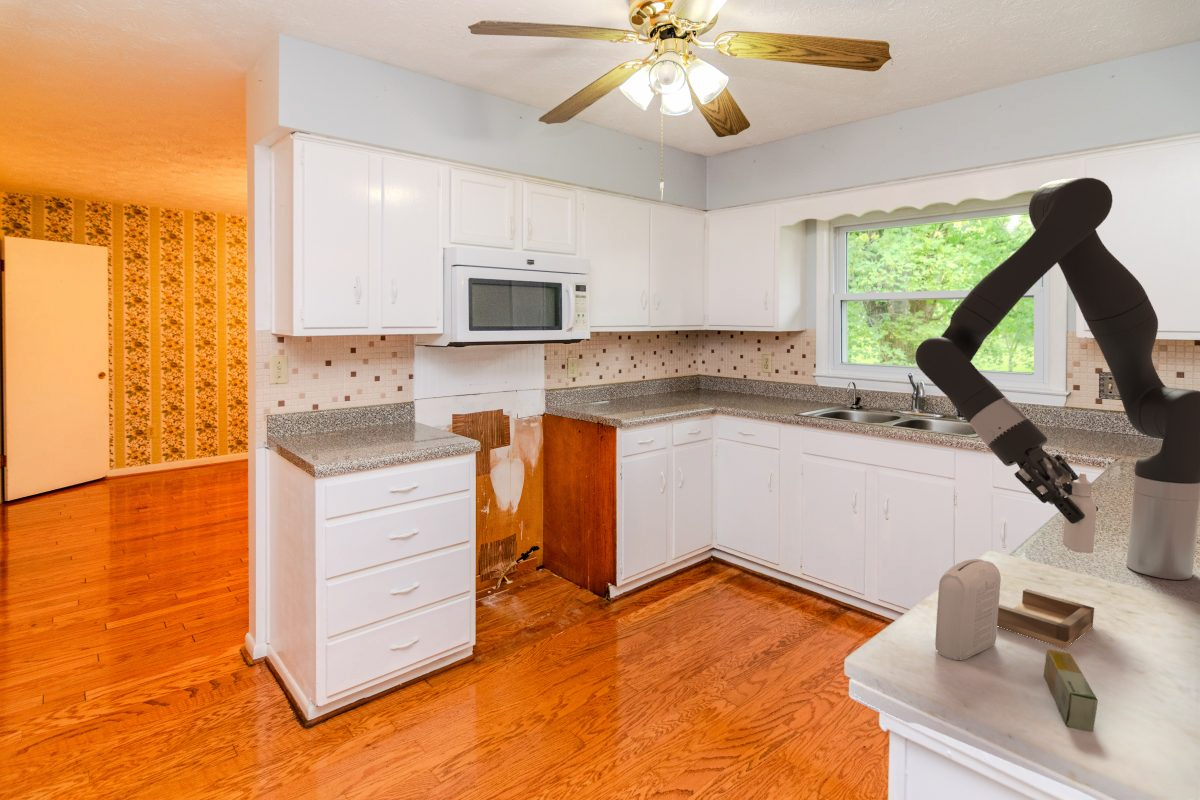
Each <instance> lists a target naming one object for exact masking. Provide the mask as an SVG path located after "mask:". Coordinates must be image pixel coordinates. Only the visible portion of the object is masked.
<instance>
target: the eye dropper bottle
mask: <svg viewBox="0 0 1200 800" xmlns="http://www.w3.org/2000/svg"><path fill="white" fill-rule="evenodd" d="M1078 477H1079V478H1078V479H1077V480H1074V481H1073V486H1072V495H1069V496H1068V497H1069V498H1070V499H1071V500H1072V501H1073V502H1074V504H1075V505H1076V506H1077V507H1078V508H1079V509H1080V510H1081V511H1082V512H1083V513H1084V514H1085V517H1084V518H1083V519H1082V520H1080V521H1078V522H1076V523H1074V524H1072V523H1070V522H1069V521H1068V520H1067V519H1066V517H1065V516H1064V515H1063V528H1062V529H1063V530H1062V545H1063V546H1064V547H1065V548H1067V549H1068V550H1071V551H1073V552H1076V553H1081V554H1082V553H1083V554H1093V552H1094V549H1095V548H1094V547H1095V535H1096V522H1097V520H1096V519H1097V512H1096V506H1097V503H1096V502H1095V500H1094V499H1093V498H1092V497H1091V496H1092V490H1093V489H1092V488H1093V483H1092V482H1091V481H1089V480H1088V479H1087V473H1085V472H1080V473H1079V476H1078Z"/></svg>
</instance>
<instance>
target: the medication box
mask: <svg viewBox="0 0 1200 800" xmlns="http://www.w3.org/2000/svg"><path fill="white" fill-rule="evenodd" d="M1045 654H1046V655H1045V662H1044V670H1043V679H1044V681H1045V683H1046V686H1047V688H1048V690H1049V692H1050V694H1051V696H1052V699H1053V701H1054V703H1055V706H1056V707H1057V710H1058V713H1059V714H1060V716H1061V718H1062V720H1063V723H1064V724H1065V726H1066V727H1067V728H1071V729H1076V730H1079V731H1086V732H1094V728H1095V723H1096V714H1097V711H1098V702H1099V699H1098V698H1097V696H1096V694H1095V693H1094V691H1093V689H1092V687H1091V686H1090V684H1089V683H1088V681H1087V680H1086V679H1087V678H1086V677H1085V676H1084V674H1083V672H1082V671H1081V669H1080V667H1079V665H1078V664H1077V662H1076V660H1075V659H1074V657H1073V656H1072V654H1071V653H1070V652H1066V651H1061V650H1055V649H1052V648H1051V649H1049V648H1047V649H1046V653H1045Z"/></svg>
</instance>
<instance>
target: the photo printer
mask: <svg viewBox="0 0 1200 800" xmlns="http://www.w3.org/2000/svg"><path fill="white" fill-rule="evenodd" d="M1001 580H1002V579H1001V572H1000V571H999V569H998V566H996V564H994V562H990V561H986V560H983V559H979V558H972V559H968V560H963V561H961V562H958V563H956V564H955V565H953V566H952V567H950V568H949V569H948V570H947V571H945V572H944V573H943V575H942V576H941V577H940V579H939V583H938V596H937V608H936V609H937V610H936V611H937V612H936V622H935V623H936V625H935V626H936V627H935V642H934V645H935V650H936V651H937V652H938V653H939V654H940V655H941V656H943V657H945V658H947V659H950V660H955V661H959V660H960V661H961V660H965V659H968V658H971V657H972V656H974V655H977V654H979V653H981V652H983V651H986V650H987V649H990V648H991V647H992V646H994V645H995V644H996V641H997V637H998V636H997V633H998V627H997V621H998V608H999V605H1000V593H1001V592H1000V591H1001Z"/></svg>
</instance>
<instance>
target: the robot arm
mask: <svg viewBox="0 0 1200 800" xmlns="http://www.w3.org/2000/svg"><path fill="white" fill-rule="evenodd" d="M1112 193H1113V192H1112V191H1111V189H1110V187H1109V186H1108V185H1107V183H1106V182H1104V181H1103V180H1101V179H1097V178H1095V177H1087V176H1086V177H1084V176H1083V177H1073V178H1070V177H1069V178H1064V179H1058V180H1057V179H1056V180H1052V181H1049V182H1047V183H1044V184H1042V185H1041V186H1039V188H1037V189H1036V191H1034V193H1033V195H1032V196H1031V198H1030V202H1029V207H1028V217H1029V219H1030V223H1031V224H1032V226H1033V228H1034V230H1035V231H1034V232H1033V233H1032V234H1031V235H1030V237H1029V238H1028V239H1027V240H1026V241H1025V242H1024V243H1023V244H1022V245H1021V246H1020V247H1019V248H1018V249H1017V250H1016V251H1014V253H1012V254H1011V255H1010V256H1009V257H1007V258H1006V259H1005V260H1003V262H1001V263H1000V264H999V265H997V266H996V267H995V268H994V269H992V270H991V271H990V272H989V273H987V274H986V275H985V276H984V277H982V279H981V280H979V282H978V283H977V284H976V285H975V286H973V288H972V289H971V290H970V291H969V292H968V294H967V295H966V296H965V298H963V300H962V301H961V302H960V303H959V305H958V306H957V307H956V309H954V311H953V312H952V314H951V316H950V323H949V325H948V326H947V328H946V329H945V330H944V331H943V332H942V333H943V334H941V336H932V337H928V338H926V339H925V340H923V341H922V342H921V343H920V344H919V345H918V347H917V348H916V351H915V362H916V365H917V367H918V368H919V369H920V371H921V372H922V373H923V374H924V376H926V378H928V379H929V380H930V381H931V382H932V383H933V384H934V385H935V387H937V388H938V389H939V390H940V391H941V392H942V393H943V394H944V395H945V396H946V397H947V398H948V399H949V401H950V402H951V403H952V405H953V406H954V407H955V408H956V410H957V411H958V413H960V415H961V416H962V417H963V418H964V419H965V420H966V421H967V422H968V423H969V424H970V426H971V427H972V428H973V430H974V432H975V434H977V436H978V437H979V438H980V439H981V440H982V441H983V442H984V444H986V446H987V447H988V448H989V449H990V450H991V452H992V453H993V454H994V455H995V456H996V457H997V458H998V460H999V461H1001V463H1002V464H1003V465H1004V466H1006V467H1011V466H1014V465H1017V466H1018V468H1019V470H1017V471H1016V472H1014V477H1016V479H1017V480H1018V481H1019V482H1021V483H1022V485H1024V486H1025V487H1026V488H1027V489H1028V490H1029V491H1030V492H1031V493H1032V494H1033V495H1034V496H1035V497H1036V498H1037V499H1038V500H1039V501H1040V502H1041V503H1043V504H1046V503H1049V504H1050V505H1052V506H1053V505H1054V507H1055V508H1056V509H1057V510H1058V511H1059V512H1060V513H1061V515H1062V516H1063V517H1064V516H1065V517H1066V519H1067V520H1068V521H1069V522H1070V523H1072V524H1074V523H1076V522H1078V521H1080V520H1082V519H1083V518H1084V517H1085V514H1084V513H1083V512H1082V511H1081V510H1080V509H1079V508H1078V507H1077V506H1076V505H1075V504H1074V502H1073V501H1072V500H1071V499H1070V498H1069V497H1068V496H1069V495H1072V486H1073V481H1074V480H1077V479H1078V478H1079V476H1078V475H1077V473H1076V472H1075V471H1074V470H1073V468H1071V466H1070V465H1069V464H1068V463H1067V462H1066V460H1065V458H1063V456H1062V455H1060V454H1056V455H1055V456H1052V455H1050V454H1049V453H1047V452H1046V451H1045V450H1044V449H1043V447H1044V446H1045V445H1046V444H1047V443H1048V437H1047V436H1046V435H1045V434H1044V433H1043V432H1042V431H1041V430H1040V429H1039V428H1038V427H1037V426H1036V425H1035V424H1034V423H1033V421H1031V419H1030V418H1029V417H1027V416H1026V415H1025V413H1024V412H1023V411H1022V410H1021V409H1020V408H1019V407H1018V406H1017V405H1016V404H1014V403H1013V402H1011V400H1009V399H1008V398H1007V397H1006V396H1005V395H1004V393H1002V392H1001V391H1000V390H999V388H998V387H997V386H996V385H995V384H994V383H993V382H991V381H990V380H989V379H988V378H987V377H986V376H984V375H983V374H982V373H981V372H980V371H979V369H978V368H977V367H976V366H975V365H974V364H973V363H972V362H971V361H973V359H974V357H975V356H976V354H977V353H978V351H979V350H980V348H981V347H982V345H983V343H984V341H985V340H986V339H987V337H988V336H989V335H990V334H991V333H992V332H993V331H994V330H995V329H996V328H997V327H998V326H999V324H1000V323H1001V322H1002V321H1003V320H1004V318H1005V317H1006V316H1007V315H1008V313H1010V311H1011V310H1012V309H1013V308H1014V307H1015V306H1016V304H1017V303H1018V302H1019V301H1020V300H1021V299H1022V298H1023V297H1024V296H1025V295H1026V294H1027V293H1028V291H1030V289H1031V288H1033V286H1034V285H1035V284H1036V283H1037V282H1038V281H1039V280H1040V279H1041V278H1043V276H1044V275H1045V274H1047V273H1048V272H1049V271H1050V270H1051V269H1052V268H1054V266H1055V265H1058V266H1059V269H1060V270H1061V272H1062V274H1063V276H1064V279H1065V280H1066V282H1067V283H1066V284H1067V285H1068V287H1069V289H1070V291H1071V294H1072V295H1073V297H1074V299H1075V301H1076V303H1077V305H1078V307H1079V310H1080V312H1081V314H1082V317H1083V319H1084V320H1085V322H1086V325H1087V327H1088V329H1089V331H1090V333H1091V334H1092V336H1093V338H1094V339H1095V341H1096V343H1097V345H1098V346H1099V349H1100V352H1101V353H1102V355H1103V358H1104V360H1105V363H1106V364H1107V366H1108V368H1109V371H1110V374H1111V375H1112V376H1113V377H1112V378H1113V380H1114V381H1115V382H1114V383H1115V385H1116V388H1117V391H1118V394H1119V397H1120V400H1121V403H1122V406H1123V409H1124V410H1125V411H1124V412H1125V414H1126V416H1127V419H1128V420H1129V423H1130V424H1131V426H1132V427H1133V428H1134V429H1135V430H1136V431H1137V432H1138V433H1140V434H1141V435H1144V436H1146V437H1149V438H1154V439H1155V438H1156V439H1162V444H1161V447H1160V450H1159V452H1158V453H1156V454H1155V455H1154V454H1153V455H1152V456H1144V457H1139V458H1138V459H1137V460H1136V462H1135V466H1134V475H1133V476H1134V477H1133V486H1132V487H1133V488H1132V498H1131V509H1130V520H1129V521H1130V522H1129V529H1128V531H1129V532H1128V540H1127V541H1128V542H1127V552H1126V566H1127V568H1128V569H1130V570H1132V571H1134V572H1136V573H1138V574H1143V575H1147V576H1151V577H1155V578H1159V579H1167V580H1177V581H1178V580H1179V581H1180V580H1181V581H1182V580H1190V579H1192V577H1193V573H1194V571H1193V570H1194V562H1195V553H1196V545H1197V536H1198V535H1197V534H1198V526H1199V525H1198V524H1199V515H1200V390H1195V389H1188V388H1177V387H1176V388H1175V387H1167V386H1166V385H1165V384H1164V382H1163V381H1162V380H1161V378H1160V376H1159V374H1158V373H1157V370H1156V367H1155V365H1154V363H1153V359H1152V358H1153V357H1152V355H1153V351H1154V350H1153V349H1154V345H1155V343H1156V339H1157V335H1158V330H1159V319H1158V316H1157V313H1156V310H1155V309H1154V306H1153V305H1152V303H1151V300H1150V299H1149V296H1148V294H1147V292H1146V290H1145V288H1144V287H1143V285H1142V284H1141V282H1140V281H1139V280H1138V279H1137V278H1136V277H1135V275H1134V274H1133V273H1132V272H1131V271H1130V270H1129V269H1127V267H1126V266H1125V265H1124V264H1123V263H1122V262H1120V260H1118V259H1117V258H1116V256H1115V255H1114V254H1112V253H1111V251H1110V250H1108V249H1107V247H1106V246H1105V244H1104V243H1103V242H1102V240H1101V237H1100V236H1099V234H1098V232H1097V230H1096V229H1097V228H1099V226H1101V225H1102V223H1103V222H1104V221H1105V220H1106V219H1107V217H1108V216H1109V214H1110V212H1111V209H1112V206H1113V194H1112ZM1098 511H1099V507H1098V505H1096V513H1097V512H1098Z"/></svg>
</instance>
